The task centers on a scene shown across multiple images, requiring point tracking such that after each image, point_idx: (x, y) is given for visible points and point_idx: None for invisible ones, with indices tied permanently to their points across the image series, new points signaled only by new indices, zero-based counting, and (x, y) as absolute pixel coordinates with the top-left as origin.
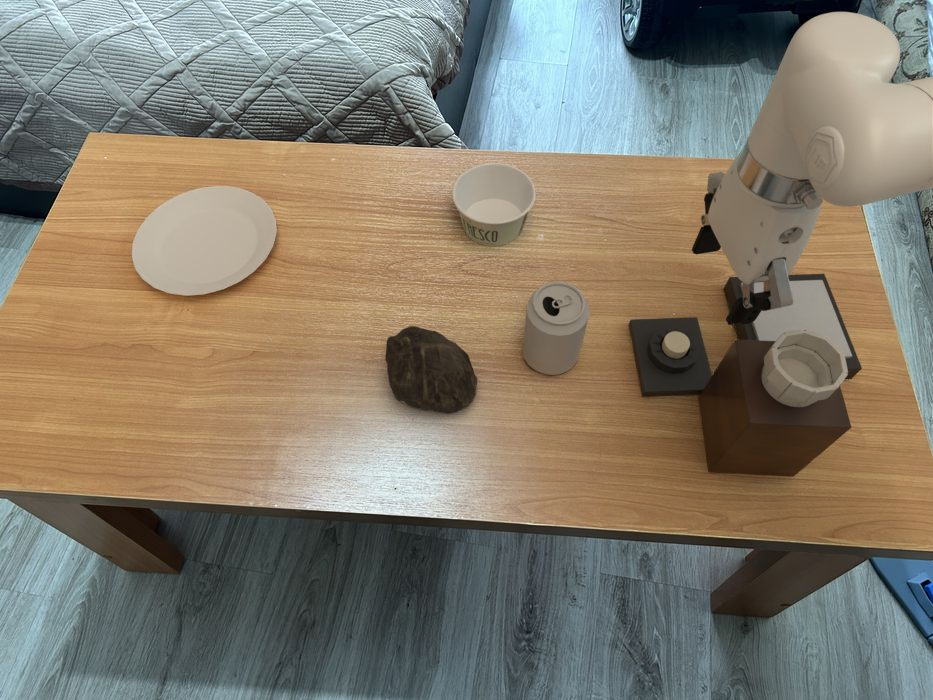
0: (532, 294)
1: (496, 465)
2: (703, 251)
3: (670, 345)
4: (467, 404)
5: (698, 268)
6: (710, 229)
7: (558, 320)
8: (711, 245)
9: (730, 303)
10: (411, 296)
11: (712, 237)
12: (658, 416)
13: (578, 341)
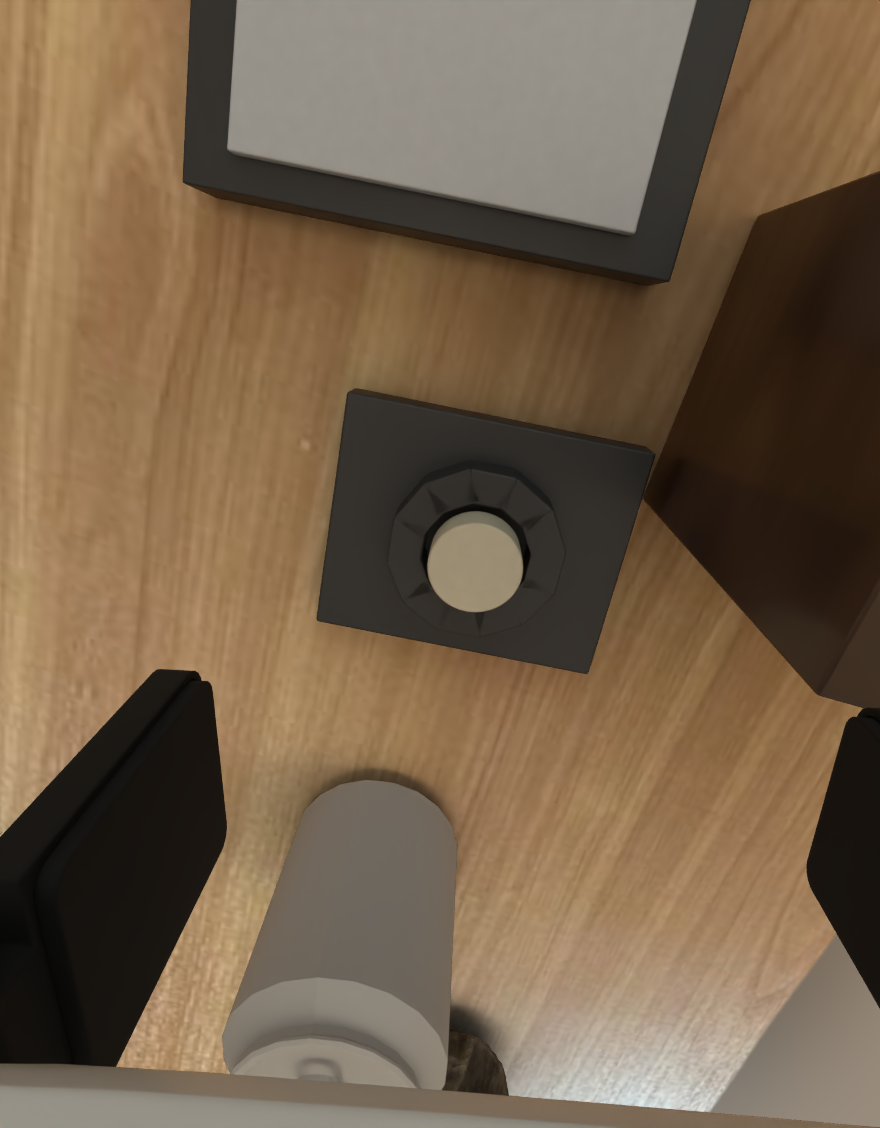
0: None
1: (647, 1007)
2: (213, 801)
3: (484, 598)
4: (502, 1075)
5: (106, 261)
6: (66, 1053)
7: None
8: (184, 806)
9: (300, 213)
10: (153, 1050)
11: (135, 911)
12: (659, 637)
13: (434, 936)
